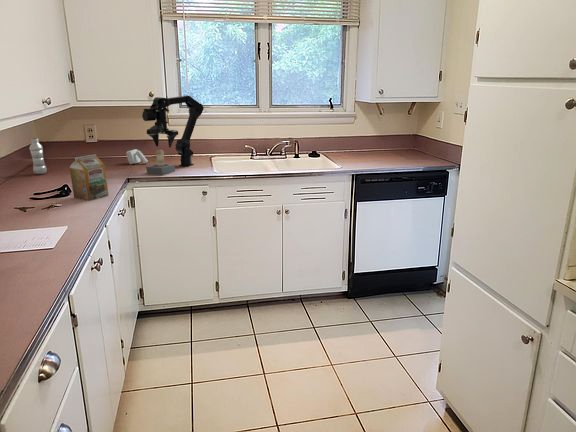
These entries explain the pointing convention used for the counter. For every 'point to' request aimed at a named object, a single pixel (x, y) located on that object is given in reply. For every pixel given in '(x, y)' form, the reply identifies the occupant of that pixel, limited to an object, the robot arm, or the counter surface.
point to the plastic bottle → (37, 157)
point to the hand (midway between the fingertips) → (163, 147)
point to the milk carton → (88, 178)
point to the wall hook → (135, 157)
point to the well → (160, 169)
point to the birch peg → (159, 158)
